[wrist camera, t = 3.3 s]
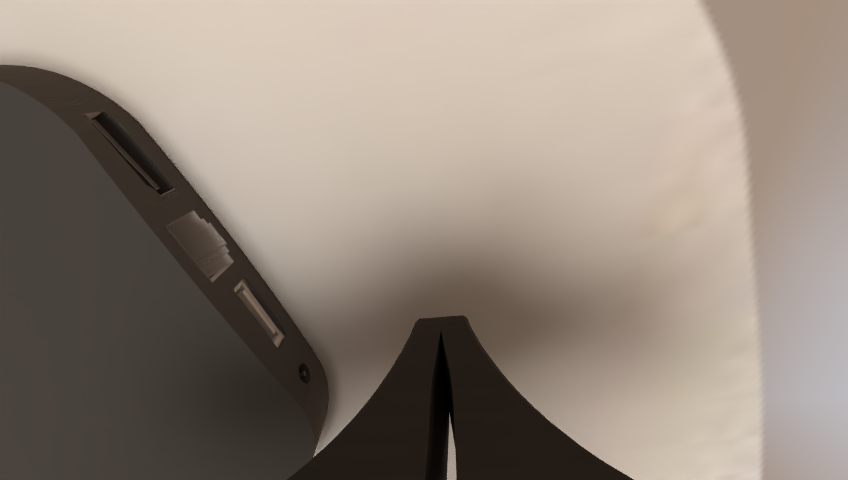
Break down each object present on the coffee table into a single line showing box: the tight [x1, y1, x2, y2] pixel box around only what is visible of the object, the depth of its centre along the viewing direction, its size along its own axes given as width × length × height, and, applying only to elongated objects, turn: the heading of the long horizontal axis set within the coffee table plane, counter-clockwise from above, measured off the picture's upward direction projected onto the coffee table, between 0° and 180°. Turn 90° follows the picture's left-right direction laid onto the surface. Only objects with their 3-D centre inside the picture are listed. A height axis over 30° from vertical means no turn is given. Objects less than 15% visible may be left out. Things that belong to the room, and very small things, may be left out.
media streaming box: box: [0, 65, 329, 480], centre depth 12 cm, size 15×15×3 cm
